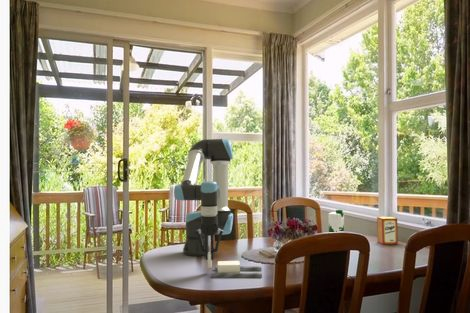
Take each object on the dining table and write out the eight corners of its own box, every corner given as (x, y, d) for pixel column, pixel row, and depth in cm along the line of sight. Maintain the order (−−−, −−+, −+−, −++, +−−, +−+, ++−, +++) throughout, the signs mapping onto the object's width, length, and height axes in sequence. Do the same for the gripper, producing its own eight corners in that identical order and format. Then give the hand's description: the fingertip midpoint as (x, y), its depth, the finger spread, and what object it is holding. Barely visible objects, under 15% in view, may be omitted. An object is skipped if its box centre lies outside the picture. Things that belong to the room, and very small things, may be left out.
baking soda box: (392, 241, 226) (391, 216, 226) (397, 244, 219) (397, 217, 220) (377, 242, 225) (377, 216, 225) (382, 244, 218) (382, 218, 219)
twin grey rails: (212, 277, 158) (212, 274, 159) (214, 269, 170) (214, 266, 170) (262, 277, 157) (261, 274, 157) (261, 269, 169) (261, 266, 169)
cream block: (217, 276, 160) (217, 265, 161) (217, 271, 167) (217, 261, 168) (240, 276, 161) (240, 264, 161) (239, 271, 168) (239, 260, 168)
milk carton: (340, 243, 222) (339, 211, 223) (326, 241, 228) (326, 210, 229) (346, 241, 229) (345, 209, 230) (332, 239, 235) (332, 208, 235)
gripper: (193, 216, 162) (194, 269, 161) (222, 216, 161) (223, 269, 160) (196, 214, 169) (197, 264, 169) (224, 214, 168) (224, 264, 168)
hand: (209, 266), depth 165 cm, fingers closed
